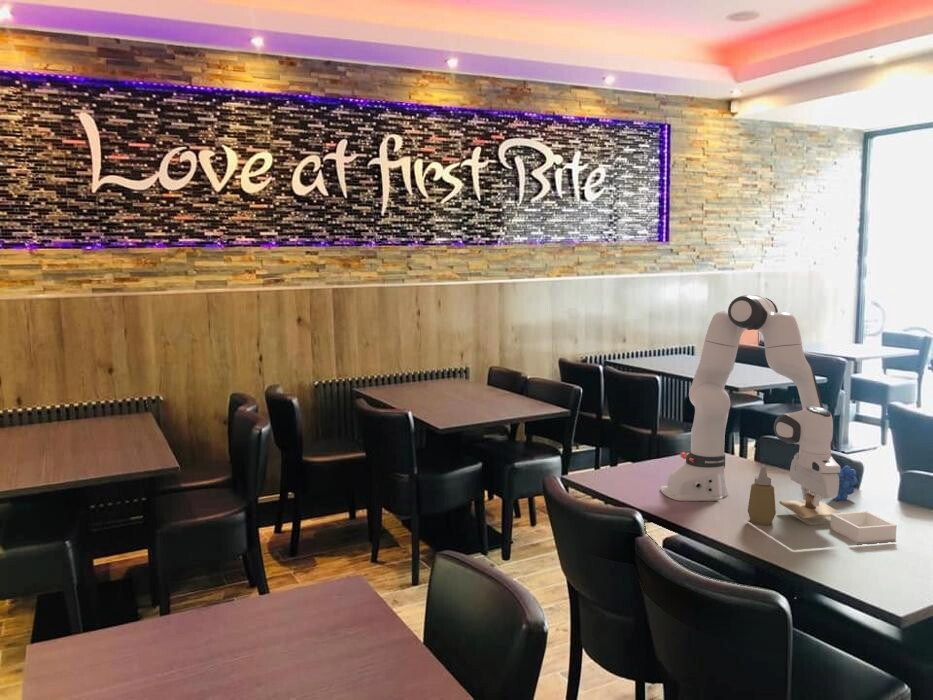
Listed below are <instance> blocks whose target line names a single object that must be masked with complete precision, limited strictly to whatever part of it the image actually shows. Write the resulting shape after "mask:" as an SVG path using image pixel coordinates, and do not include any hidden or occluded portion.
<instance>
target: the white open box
mask: <svg viewBox="0 0 933 700" xmlns="http://www.w3.org/2000/svg"><path fill="white" fill-rule="evenodd" d="M829 525H830V527H829V529H831V530H833V532H836V533H838V534H840V535H842V536H844V537H846V538H847V539H849V540H851V541H853V542H855V543H857V544H856V545H857V546H863V545H862V544H867V545H876V544H877V543H879V544H888V542H891V543H896V540H897V524H894V523H893V522H890V521H889V520H886V519H884V518H883V517H880V516H878V515H876V514H874V513H872V512H869V511H868V510H866V511H864V510H863V511H852V512H841V513H836V514H831V523H830V524H829Z"/></svg>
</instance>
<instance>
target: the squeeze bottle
mask: <svg viewBox="0 0 933 700" xmlns="http://www.w3.org/2000/svg"><path fill="white" fill-rule="evenodd" d="M767 472H768V471H767V468H766V465H765V466H764V465H762V466H760V470H759V474H758V475H757V476H755V477H754V483H752V484H751V486H750V492H749V499H748V504H747V505H748V506H747V513H748V518H749V519H750V522H751V523H753V524H754V525H755V524H756V525H760V526H770V525H772V523H773V521H774V519H775V516H776V513H777V511H776V499H775V498H776V497H775V496H776V495H775V487H774V486H773V485H772V478H771V477H769V476H768V473H767Z"/></svg>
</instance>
